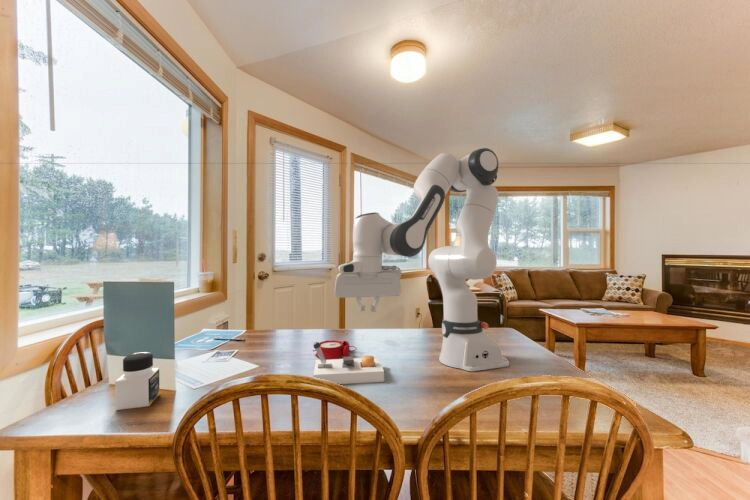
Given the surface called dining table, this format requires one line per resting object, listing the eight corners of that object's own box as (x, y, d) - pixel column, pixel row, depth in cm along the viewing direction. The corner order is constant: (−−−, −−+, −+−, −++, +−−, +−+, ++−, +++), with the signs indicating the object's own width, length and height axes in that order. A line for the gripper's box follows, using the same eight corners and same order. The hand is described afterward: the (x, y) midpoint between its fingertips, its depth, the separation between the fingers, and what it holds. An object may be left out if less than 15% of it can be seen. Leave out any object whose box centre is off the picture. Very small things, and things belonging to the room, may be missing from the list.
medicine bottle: (149, 406, 79) (149, 357, 79) (114, 411, 77) (114, 360, 77) (159, 394, 85) (159, 348, 85) (128, 397, 83) (127, 351, 83)
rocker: (352, 359, 101) (352, 356, 101) (353, 363, 94) (353, 360, 94) (343, 360, 100) (343, 356, 101) (343, 364, 94) (343, 360, 94)
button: (373, 366, 100) (373, 355, 100) (374, 371, 96) (374, 359, 96) (361, 367, 100) (361, 355, 100) (362, 371, 96) (362, 359, 96)
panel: (378, 366, 104) (378, 356, 104) (384, 381, 92) (384, 369, 92) (316, 369, 102) (315, 358, 102) (313, 385, 90) (313, 373, 90)
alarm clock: (313, 341, 121) (352, 331, 123) (317, 357, 121) (356, 347, 123) (311, 350, 111) (354, 339, 112) (315, 368, 111) (358, 356, 112)
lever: (327, 360, 97) (318, 340, 97) (327, 362, 95) (318, 342, 95) (321, 363, 97) (312, 343, 97) (320, 365, 95) (312, 345, 95)
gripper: (399, 265, 102) (399, 308, 102) (334, 265, 100) (334, 310, 100) (403, 266, 96) (403, 312, 96) (334, 267, 94) (334, 314, 94)
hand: (367, 311), depth 98 cm, fingers closed
